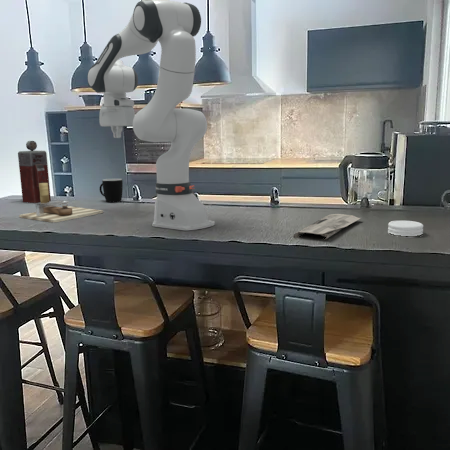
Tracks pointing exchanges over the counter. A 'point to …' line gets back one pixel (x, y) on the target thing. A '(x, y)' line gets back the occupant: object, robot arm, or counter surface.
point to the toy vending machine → (33, 172)
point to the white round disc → (405, 228)
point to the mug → (112, 189)
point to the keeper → (41, 206)
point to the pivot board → (55, 218)
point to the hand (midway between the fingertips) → (117, 137)
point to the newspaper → (328, 225)
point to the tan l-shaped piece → (45, 198)
